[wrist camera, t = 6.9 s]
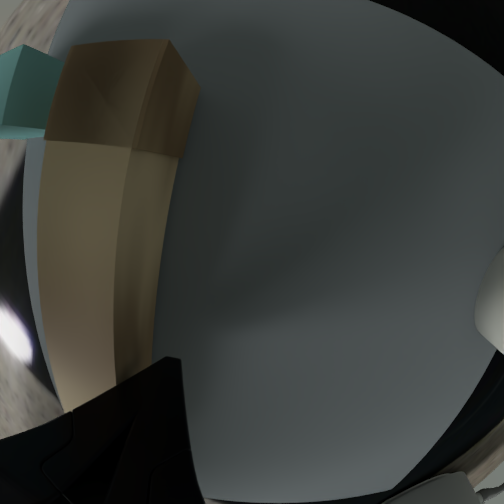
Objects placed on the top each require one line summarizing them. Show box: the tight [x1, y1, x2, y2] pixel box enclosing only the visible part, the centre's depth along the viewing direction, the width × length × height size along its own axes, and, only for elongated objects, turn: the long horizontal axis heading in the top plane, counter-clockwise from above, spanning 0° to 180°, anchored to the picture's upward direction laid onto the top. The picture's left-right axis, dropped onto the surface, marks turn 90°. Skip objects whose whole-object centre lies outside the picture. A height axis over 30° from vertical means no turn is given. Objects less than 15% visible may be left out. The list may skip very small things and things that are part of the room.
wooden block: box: [37, 39, 201, 413], centre depth 7 cm, size 13×2×3 cm, turn 167°
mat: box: [23, 0, 504, 503], centre depth 9 cm, size 25×21×1 cm
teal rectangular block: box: [0, 44, 64, 139], centre depth 5 cm, size 2×3×4 cm, turn 82°
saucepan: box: [382, 471, 504, 504], centre depth 11 cm, size 12×20×6 cm, turn 97°
